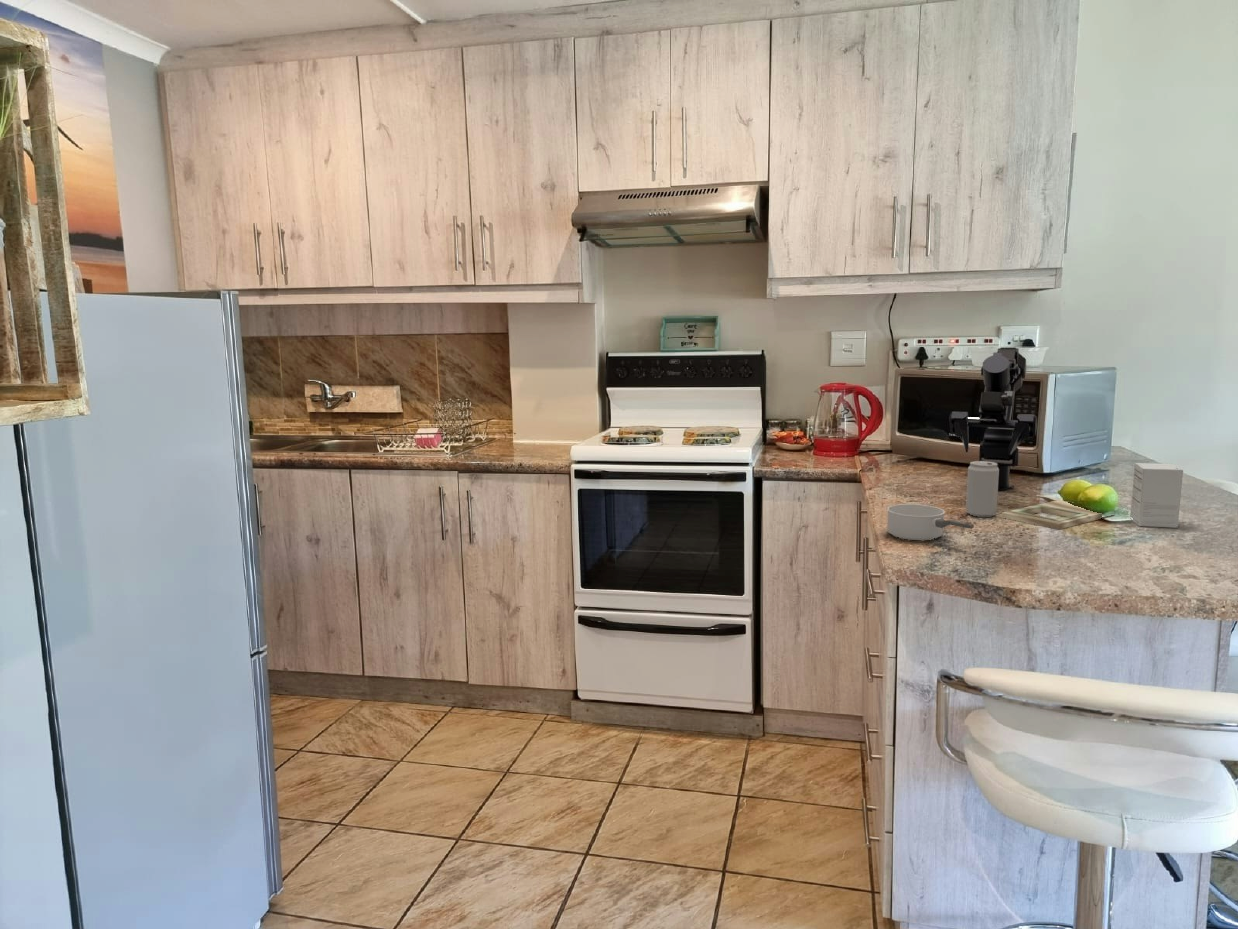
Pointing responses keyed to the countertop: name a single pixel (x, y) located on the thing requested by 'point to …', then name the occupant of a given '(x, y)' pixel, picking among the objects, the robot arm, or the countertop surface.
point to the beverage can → (982, 488)
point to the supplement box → (1156, 495)
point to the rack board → (1060, 508)
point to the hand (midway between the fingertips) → (987, 452)
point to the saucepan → (918, 521)
